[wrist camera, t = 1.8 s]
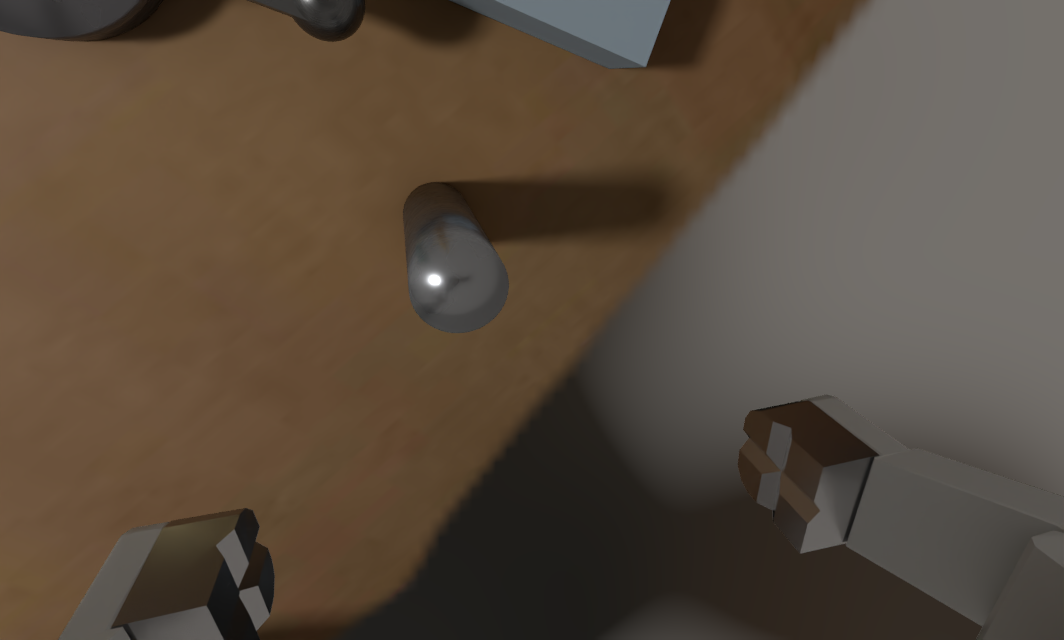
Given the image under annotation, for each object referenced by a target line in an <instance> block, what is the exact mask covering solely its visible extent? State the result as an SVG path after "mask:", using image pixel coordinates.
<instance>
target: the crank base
mask: <svg viewBox="0 0 1064 640" xmlns="http://www.w3.org/2000/svg"><path fill="white" fill-rule="evenodd" d="M163 1H164V0H0V31H3V32H7V33H11V34H16V35H23V36H30V37H38V38H46V39H55V40H64V41H93V40H101V39H106V38H110V37H114V36H117V35H120V34H122V33H125V32H127V31H129V30H131V29H133V28H135V27H136V26H138V25H139V24H141V23H142V22H144V21H145V20H147V19H148V18H149V17H150V16H151V15H152V14H153V13H154V12H155V11H156V10H157V9H158V7H159V6H160V5H161V3H162V2H163Z"/></svg>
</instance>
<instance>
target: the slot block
mask: <svg viewBox="0 0 1064 640" xmlns="http://www.w3.org/2000/svg"><path fill="white" fill-rule="evenodd" d="M450 1H452V2H454V3H457V4H459V5H461V6H464V7H466V8H468V9H471V10H473V11H475V12H478V13H480V14H482V15H485V16H487V17H489V18H492V19H494V20H496V21H499V22H501V23H503V24H506V25H508V26H511V27H513V28H515V29H518V30H520V31H522V32H525V33H527V34H529V35H532V36H534V37H536V38H539V39H541V40H543V41H546V42H548V43H550V44H553V45H555V46H557V47H560V48H562V49H564V50H567V51H569V52H571V53H574V54H576V55H578V56H581V57H583V58H585V59H588V60H590V61H592V62H595V63H597V64H599V65H602V66H604V67H606V68H609V69H614V68H636V67H646V65H647V62H648V60H649V57H650V54H651V51H652V49H653V46H654V43H655V41H656V38H657V35H658V33H659V30H660V27H661V25H662V22H663V19H664V17H665V14H666V11H667V9H668V6H669V3H670V1H671V0H450Z"/></svg>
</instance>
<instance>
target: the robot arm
mask: <svg viewBox="0 0 1064 640" xmlns="http://www.w3.org/2000/svg"><path fill="white" fill-rule="evenodd" d="M743 430H744V431H745V433H746V434H747V436H748V437H749V439H748V440H747V441H746V443H745V444H744V445H743V447H742V448H741V449H740V451H739V459H738V468H739V472H740V476H741V480H742V482H743V484H744V486H745V488H746V490H747V491H748V493H749V494H750V495H751V496H752V498H753V499H754V500H755V501H756V502H757V503H759V504H761V505H763V506H765V507H767V508H769V509H771V510H773V523H774V524H775V525H776V526H777V527H778V528H779V530H780V531H781V532H782V533H783V534H784V535H785V537H786V538H787V539H788V540H789V541H790V542H791V544H792V545H793V546H794V547H795V548H796V549H797V551H798V552H799V553H805V552H809V551H813V550H818V549H822V548H827V547H831V546H836V545H840V544H845V543H847V544H846V546H847V547H848V548H850V549H852V550H853V551H855V552H857V553H859V554H860V555H862V556H864V557H865V558H867V559H869V560H870V561H872V562H874V563H876V564H877V565H879V566H881V567H882V568H884V569H886V570H887V571H889V572H891V573H892V574H894V575H896V576H898V577H899V578H901V579H903V580H904V581H906V582H908V583H909V584H911V585H913V586H915V587H917V588H918V589H920V590H921V591H923V592H925V593H927V594H928V595H930V596H932V597H934V598H935V599H937V600H938V601H940V602H942V603H943V604H945V605H947V606H949V607H950V608H952V609H954V610H955V611H957V612H959V613H960V614H962V615H964V616H966V617H967V618H969V619H971V620H972V621H974V622H976V623H978V624H979V625H981V626H983V627H982V629H981V631H980V633H979V635H978V637H977V639H976V640H1064V497H1063V496H1061V495H1058V494H1054V493H1051V492H1048V491H1045V490H1042V489H1039V488H1036V487H1033V486H1030V485H1027V484H1024V483H1021V482H1018V481H1015V480H1012V479H1009V478H1006V477H1003V476H1000V475H997V474H994V473H991V472H988V471H985V470H982V469H979V468H976V467H973V466H970V465H967V464H964V463H961V462H958V461H955V460H952V459H949V458H946V457H943V456H940V455H937V454H933V453H931V452H927V451H924V450H921V449H918V448H915V449H911V450H909V449H908V448H906V447H905V446H904V445H902V444H901V443H899V442H898V441H897V440H895V439H894V438H893V437H891V436H890V435H888V434H887V433H886V432H884V431H883V430H881V429H880V428H879V427H877V426H876V425H874V424H873V423H872V422H870V421H869V420H867V419H866V418H865V417H863V416H862V415H861V414H859V413H858V412H856V411H855V410H853V409H852V408H851V407H849V406H848V405H847V404H845V403H844V402H842V401H841V400H840V399H838V398H837V397H834V396H830V395H822V396H818V397H813V398H808V399H803V400H801V401H796V402H791V403H786V404H781V405H776V406H771V407H766V408H761V409H756V410H752V411H750V412H749V414H748V415H747V417H746V418H745V423H744V429H743ZM259 527H260V526H259V524H258V522H257V519H256V517H255V515H254V512H253V510H250V509H247V508H243V509H237V510H231V511H225V512H219V513H214V514H208V515H202V516H196V517H190V518H184V519H178V520H173V521H171V522H165V523H159V524H153V525H147V526H142V527H136V528H131V529H130V530H129V531H127V532H126V533H124V534H123V535H122V536H121V537H120V538H119V540H118V542H117V543H116V545H115V546H114V548H113V550H112V551H111V553H110V555H109V556H108V558H107V560H106V561H105V563H104V565H103V566H102V568H101V570H100V571H99V573H98V575H97V576H96V578H95V579H94V581H93V583H92V584H91V586H90V588H89V589H88V591H87V593H86V594H85V596H84V598H83V599H82V601H81V603H80V604H79V606H78V608H77V609H76V611H75V613H74V614H73V616H72V617H71V619H70V621H69V622H68V624H67V626H66V627H65V629H64V631H63V632H62V634H61V636H60V637H59V639H58V640H260V638H259V636H258V634H257V630H258V629H259V628H260V626H261V625H262V624H263V623H264V622H265V621H266V619H267V618H268V617H269V616H270V612H271V608H272V603H273V598H274V578H275V575H274V569H273V563H272V559H271V556H270V553H269V550H268V548H266V547H265V546H263V545H261V544H259V543H258V542H256V537H257V534H258V530H259Z"/></svg>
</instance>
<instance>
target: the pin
mask: <svg viewBox="0 0 1064 640" xmlns="http://www.w3.org/2000/svg"><path fill="white" fill-rule="evenodd" d="M403 221H404V234H405V247H406V260H407V273H408V285H409V296H410V300H411V303H412V305H413V308H414V309H415V311H416V313H417V314H418V315H419V316H420V318H421V319H423V320H424V321H425V322H426V323H427V324H429V325H430V326H432V327H434V328H436V329H438V330H441V331H445V332H450V333H464V332H469V331H473V330H476V329H479V328H481V327H483V326H484V325H486V324H488V323H489V322H490V321H491V320H493V319H494V318H495V317H496V316H497V315H498V313H499V312H500V311H501V309H502V307H503V306H504V304H505V301H506V298H507V295H508V288H509V281H508V275H507V272H506V269H505V267H504V264H503V263H502V261H501V259H500V258H499V256H498V254H497V253H496V251H495V249H494V248H493V246H492V244H491V243H490V241H489V239H488V238H487V236H486V234H485V233H484V231H483V229H482V228H481V226H480V224H479V223H478V221H477V219H476V218H475V216H474V214H473V213H472V211H471V209H470V207H469V206H468V204H467V202H466V201H465V199H464V198H463V196H462V195H461V194H460V193H459V192H458V191H457V190H456V189H455V188H453V187H451V186H450V185H447V184H444V183H439V182H431V183H426V184H423V185H421V186H419V187H417V188H416V189H415V190H414V191H412V192H411V194H410V195H409V196H408V198H407V200H406V202H405V204H404V209H403Z"/></svg>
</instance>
